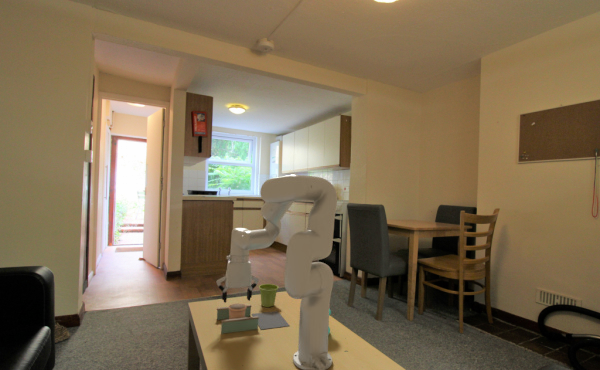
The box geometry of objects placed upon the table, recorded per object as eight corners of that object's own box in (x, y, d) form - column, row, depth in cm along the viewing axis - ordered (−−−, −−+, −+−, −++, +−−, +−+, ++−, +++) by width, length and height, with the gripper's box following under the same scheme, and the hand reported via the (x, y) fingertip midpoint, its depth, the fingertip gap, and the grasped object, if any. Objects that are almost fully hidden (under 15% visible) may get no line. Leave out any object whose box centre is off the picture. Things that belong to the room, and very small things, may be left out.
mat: (289, 326, 126) (289, 325, 126) (260, 329, 122) (260, 329, 122) (277, 311, 141) (277, 311, 141) (251, 314, 137) (251, 313, 137)
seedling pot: (247, 326, 124) (248, 308, 124) (229, 328, 122) (230, 310, 122) (243, 319, 131) (244, 302, 131) (226, 321, 128) (227, 304, 128)
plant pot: (279, 302, 153) (280, 284, 153) (275, 309, 144) (276, 290, 144) (260, 300, 154) (261, 283, 154) (255, 307, 145) (256, 289, 145)
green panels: (258, 329, 122) (258, 317, 122) (221, 333, 117) (221, 321, 117) (250, 315, 136) (250, 304, 136) (216, 318, 130) (216, 307, 130)
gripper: (219, 261, 120) (216, 305, 120) (262, 260, 127) (259, 302, 127) (216, 256, 127) (213, 298, 127) (257, 255, 134) (255, 295, 134)
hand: (236, 300), depth 127 cm, fingers open, 9 cm apart
